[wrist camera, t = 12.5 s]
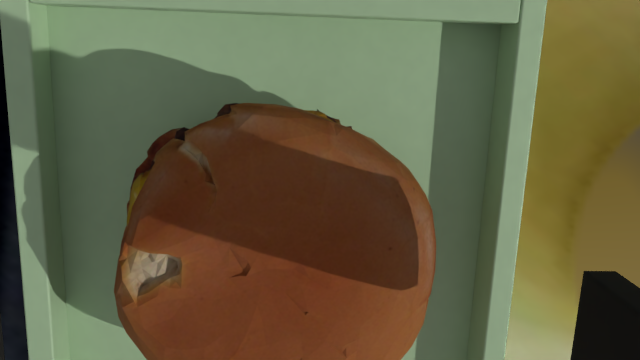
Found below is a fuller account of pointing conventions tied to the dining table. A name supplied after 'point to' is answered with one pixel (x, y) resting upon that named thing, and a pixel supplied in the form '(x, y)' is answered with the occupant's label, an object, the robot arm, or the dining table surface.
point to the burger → (274, 242)
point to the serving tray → (267, 88)
